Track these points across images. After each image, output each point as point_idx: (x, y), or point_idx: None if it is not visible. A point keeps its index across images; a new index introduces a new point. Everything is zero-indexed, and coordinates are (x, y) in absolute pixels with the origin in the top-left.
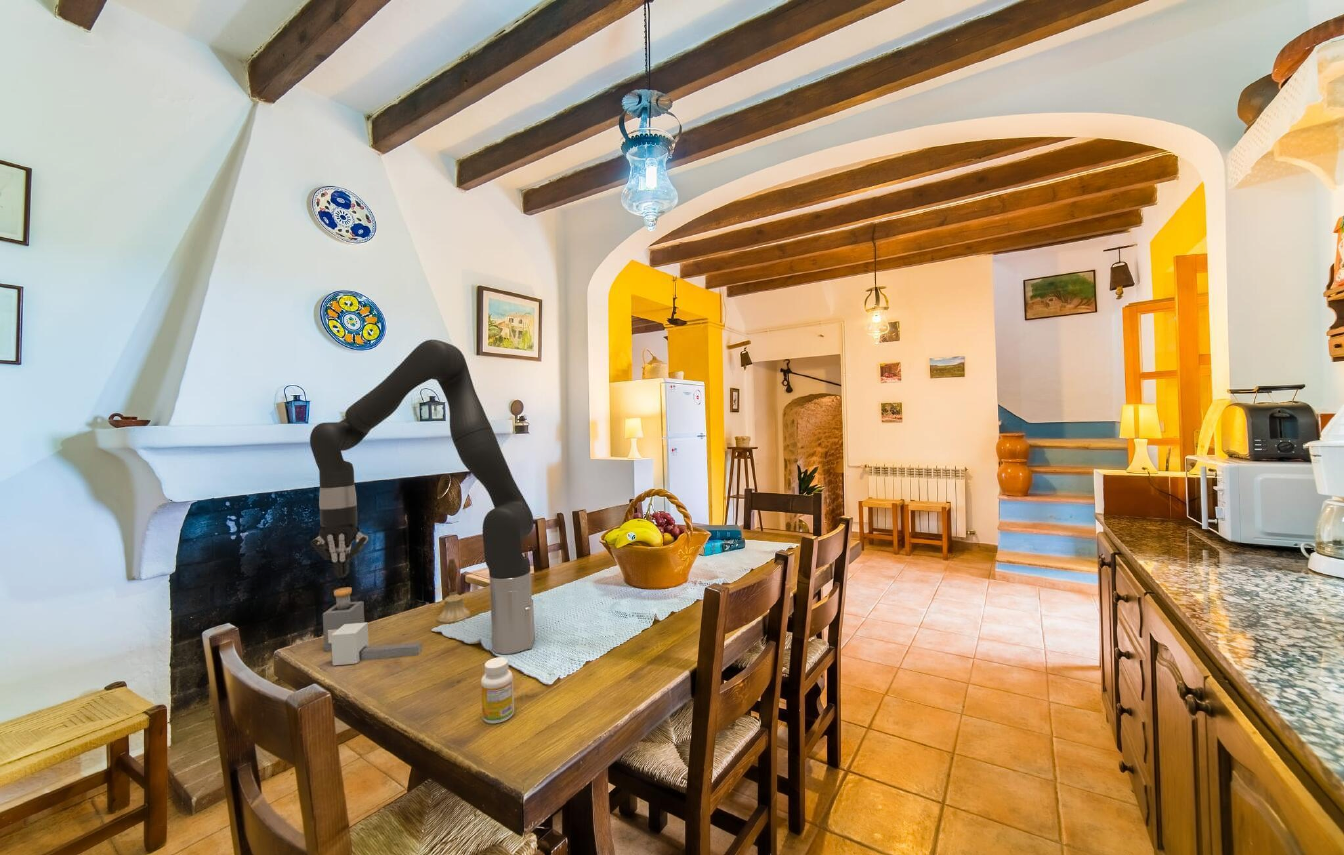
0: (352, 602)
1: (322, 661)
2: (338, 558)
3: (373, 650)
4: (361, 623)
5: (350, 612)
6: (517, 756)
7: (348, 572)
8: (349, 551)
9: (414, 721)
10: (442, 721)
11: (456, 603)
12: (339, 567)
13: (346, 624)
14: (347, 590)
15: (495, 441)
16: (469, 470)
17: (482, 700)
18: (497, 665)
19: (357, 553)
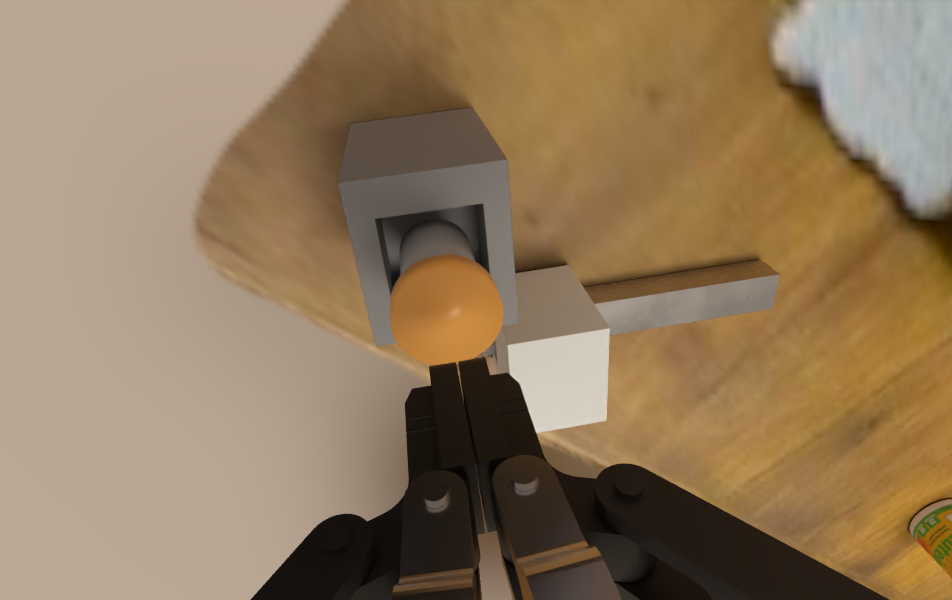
0: (441, 178)
1: None
2: (478, 558)
3: (622, 332)
4: (587, 340)
5: (516, 317)
6: (940, 582)
7: (508, 377)
8: (579, 538)
9: (790, 537)
10: (839, 534)
11: None
12: (479, 487)
13: (518, 346)
14: (495, 335)
15: None
16: None
17: (941, 566)
18: None
19: (668, 498)
